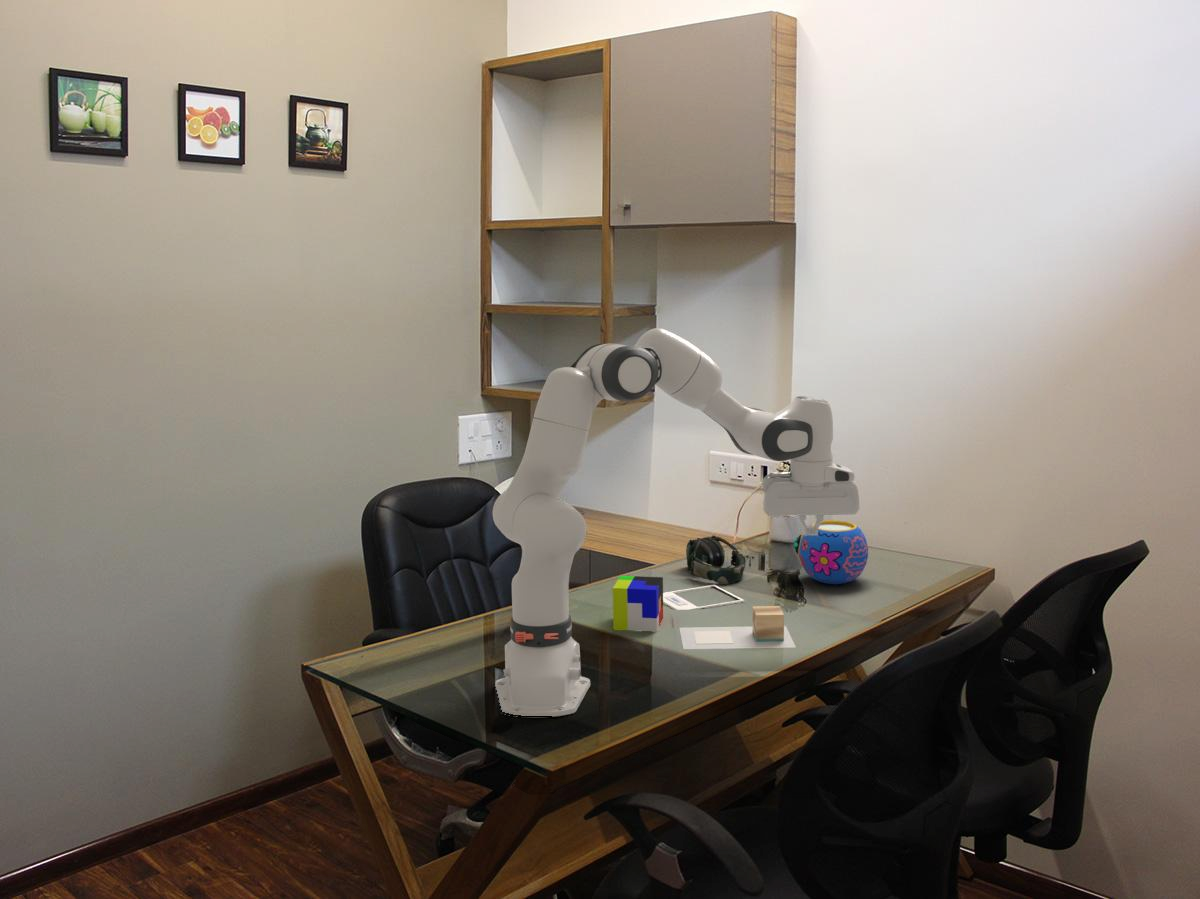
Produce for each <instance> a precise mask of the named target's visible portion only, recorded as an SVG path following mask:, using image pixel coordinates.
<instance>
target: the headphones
mask: <svg viewBox="0 0 1200 899" xmlns="http://www.w3.org/2000/svg"><path fill="white" fill-rule="evenodd" d="M722 543H723V544H725V546H728V547H729V548H730V549H731V550H732V551H731V557H730V558H731V559H730V565H729V566H726V567H723V566H724V563H725V557H726V555H725V550H724V549H725V548H724V546H723V545H722ZM685 553H686V554H685V556H686V565H687V569H688V571H689V572H690V573H691V574H693V575H695V576H697V577H700V578H702V579H703V580H708V581H712V582H715V583H717V584H723V585H730V584H733V583H738V582H740V580H741V579H742V578H743V577H744V576H743V575H744V571H745V569H746V568H745V567H746V563H747V561H746V556H745V555H743V554H742V553H739V550H738V549H737V548H736V546H734V545H732V544H731V543H730V542H729V541H728V540H726V539H724V538H722V537H721V536H716V535H711V536H705V537H701V538H700V537H697V538H696V539H690V540H688V542H687V544H686V550H685Z"/></svg>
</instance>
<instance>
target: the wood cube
mask: <svg viewBox="0 0 1200 899" xmlns="http://www.w3.org/2000/svg"><path fill="white" fill-rule="evenodd" d="M752 626H753V635H754V638H755V640H756V642H768V641H784V626H785V614H784V611H783V610H782V608H781V606H780V605H771V606H770V605H769V606H768V605H767V606H765V605H761V606H759V605H757V606H752Z"/></svg>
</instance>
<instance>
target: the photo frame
mask: <svg viewBox="0 0 1200 899" xmlns="http://www.w3.org/2000/svg"><path fill="white" fill-rule="evenodd" d="M706 588H708V589H711V588H716V589H718V590H720V591H722V592H724V593H726V594H728V595H729V596H732V597H733V598H736V599H738V600H732V601H725V602H720V603H714V604H709V605H701V606H697V605H695V604H693V603H692V602H690V601H688V600H686V599H685V598H683V597H681V596H680V595H678V594H682V593H688V592H687V591H689V592H692V591H691V590H696V591H698V590H697V589H702V590H707V589H706ZM676 593H677V594H676ZM745 600H746V599H743V598H741V597H739V596H738V595H735V594H733V593H731V592H729V591H728V590H725V589H723V588H721V587H719V586H717V585H716V584H710V585H709V584H708V585H705V586H704V585H703V586H698V587H693V588H685V589H678V590H674V591H666V592H663V604H664V603H665V604H666V605H665V604H664V605H665V606H667V605H668V606H667V607H669V606H670V607H671V608H670V607H669V608H670V609H672V610H674V611H683V610H685V611H686V610H691V611H692V610H693V611H694V610H703V609H702V608H707V609H710V608H709V607H713V608H717V607H716V606H719V607H723V605H725V606H729V605H730V604H731V605H735V603H737V604H742V603H741V602H743V603H745V602H746V601H745Z"/></svg>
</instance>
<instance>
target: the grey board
mask: <svg viewBox="0 0 1200 899" xmlns="http://www.w3.org/2000/svg"><path fill="white" fill-rule="evenodd" d="M678 628H679V634H680V639H681V644H682V649H683V650H734V649H735V650H738V649H741V650H742V649H748V650H749V649H793V648H794V649H796V648H797V646H796V645H795V642H794V641H793V640H794V639H793V638H792V635H791V634H790V632H789V630H788V628H787V626H786V625H784V641H768V642H756V640H755V638H754V635H753V625H752V626H713V627H712V626H706V627H705V626H699V627H698V626H697V627H695V626H694V627H678Z"/></svg>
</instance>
